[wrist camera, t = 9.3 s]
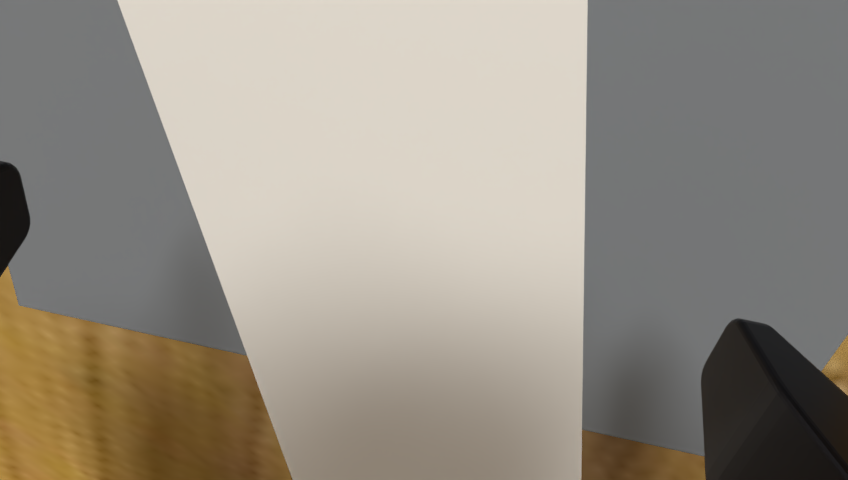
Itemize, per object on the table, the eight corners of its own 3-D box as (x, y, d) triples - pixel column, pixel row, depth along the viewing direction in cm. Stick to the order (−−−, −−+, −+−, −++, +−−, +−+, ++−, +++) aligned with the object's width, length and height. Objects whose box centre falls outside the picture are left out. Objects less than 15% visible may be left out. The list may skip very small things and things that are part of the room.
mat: (1257, -269, 8) (1289, -271, 8) (747, 453, 16) (751, 466, 16) (-181, -536, 8) (-209, -547, 8) (28, 295, 17) (19, 305, 16)
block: (572, 331, 14) (581, 495, 11) (346, 329, 15) (293, 480, 12) (572, -245, 9) (590, -258, 5) (218, -192, 10) (53, -175, 6)
